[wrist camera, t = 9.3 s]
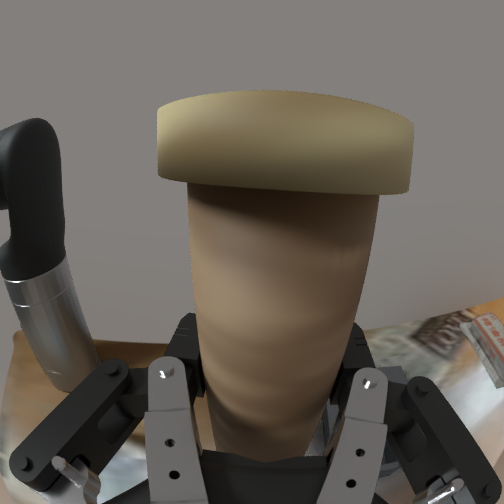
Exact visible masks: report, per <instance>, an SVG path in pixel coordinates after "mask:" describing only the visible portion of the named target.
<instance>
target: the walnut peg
mask: <svg viewBox="0 0 504 504" xmlns="http://www.w3.org/2000/svg"><path fill="white" fill-rule="evenodd" d="M413 139H414V125H413V123H412V122H411V121H410V120H408V119H407V118H405V117H403V116H401V115H399V114H397V113H395V112H392V111H390V110H387V109H384V108H381V107H378V106H375V105H371V104H368V103H364V102H360V101H356V100H352V99H347V98H342V97H337V96H331V95H324V94H317V93H307V92H297V91H278V90H250V91H232V92H221V93H214V94H206V95H200V96H194V97H190V98H186V99H181V100H178V101H175V102H172V103H169V104H166V105H164V106H162V107H161V108H159V109H158V113H157V155H158V175H159V176H160V177H162V178H165V179H169V180H174V181H180V182H187V190H188V217H189V237H190V252H191V266H192V279H193V290H194V301H195V311H196V320H197V329H198V338H199V346H200V353H201V361H202V368H203V375H204V382H205V388H206V395H207V401H208V407H209V413H210V418H211V424H212V429H213V434H214V440H215V445H216V450H217V451H218V452H226V453H233V454H237V455H240V456H243V457H246V458H249V459H253V460H256V461H260V462H272V461H277V460H283V459H288V458H292V457H303V456H304V454H305V452H306V450H307V448H308V446H309V444H310V441H311V439H312V437H313V435H314V432H315V430H316V428H317V426H318V423H319V421H320V418H321V416H322V414H323V411H324V409H325V406H326V404H327V401H328V399H329V396H330V393H331V391H332V388H333V385H334V382H335V380H336V377H337V374H338V371H339V368H340V365H341V362H342V359H343V356H344V353H345V350H346V347H347V344H348V340H349V337H350V334H351V330H352V327H353V323H354V320H355V316H356V312H357V308H358V304H359V301H360V296H361V293H362V288H363V284H364V280H365V275H366V271H367V266H368V261H369V256H370V251H371V246H372V241H373V235H374V229H375V223H376V216H377V210H378V202H379V195H393V194H402V193H406V192H407V191H409V184H410V175H411V165H412V154H413Z"/></svg>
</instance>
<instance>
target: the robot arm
mask: <svg viewBox="0 0 504 504" xmlns="http://www.w3.org/2000/svg"><path fill="white" fill-rule="evenodd" d="M6 209H8V210H9V219H10V227H11V236H10V239H9V240H8V241H7V242H6V243H4V244H3V245H2V246H1V247H0V270H1V274H2V276H3V279H4V283H5V285H6V288H7V291H8V294H9V297H10V299H11V301H12V304H13V307H14V309H15V312H16V314H17V316H18V319H19V321H20V326H21V328H22V330H23V333H24V335H25V337H26V339H27V341H28V343H29V345H30V347H31V349H32V351H33V353H34V354H35V356H36V358H37V360H38V362H39V364H40V365H41V367H42V369H43V370H44V372H45V374H46V375H48V377H49V379H50V380H51V382H52V383H53V385H54V386H55V387H56V388H58V389H59V390H62V391H65V392H71V393H70V394H69V395H68V396H67V397H66V398H65V399H64V400H63V401H62V402H61V403H60V404H59V405H58V406H57V407H56V408H55V409H54V410H53V411H52V412H51V413H50V414H49V415H48V416H47V417H46V418H45V419H44V420H43V421H42V422H41V423H40V424H39V425H38V426H37V427H36V428H35V429H34V430H33V431H32V432H31V433H30V434H29V435H28V436H27V438H26V439H25V440H24V441H23V442H22V443H21V444H20V445H19V446H18V447H17V448H16V449H15V450H14V451H13V452H12V454H11V456H10V459H9V466H10V470H11V472H12V474H13V475H14V476H15V477H16V478H17V479H18V480H20V481H21V482H23V483H24V484H26V485H27V486H28V487H29V488H30V489H32V490H33V491H35V492H37V493H38V494H40V495H41V496H42V497H43V498H44V499H45V500H46V501H47V502H48V503H49V504H97V495H98V494H99V493H100V489H101V482H100V479H99V477H98V476H99V474H100V473H101V472H102V470H103V469H104V468H105V467H106V465H107V464H108V463H109V462H110V460H111V459H112V458H113V456H114V455H115V454H116V453H117V451H118V450H119V449H120V447H121V446H122V445H123V444H124V442H125V441H126V440H127V438H128V437H129V436H130V435H131V433H132V432H133V431H134V429H135V428H136V427H137V425H138V424H139V423H140V422H141V420H142V419H143V418H144V422H145V444H146V459H147V470H148V479H146V480H145V481H143V482H141V483H140V484H138V485H136V486H134V487H133V488H131V489H129V490H127V491H125V492H124V493H122V494H120V495H118V496H116V497H114V498H112V499H110V500H108V501H106V502H104V503H102V504H388V503H387V502H386V501H385V500H383V499H382V498H381V497H380V496H379V495H377V494H376V493H375V492H374V491H375V488H376V484H377V480H378V476H379V471H380V467H381V462H382V457H383V452H384V447H385V441H386V438H387V440H388V442H389V444H390V446H391V448H392V450H393V452H394V453H395V455H396V457H397V459H398V461H399V463H400V465H401V467H402V469H403V471H404V473H405V475H406V477H407V479H408V481H409V483H410V485H411V487H412V489H413V491H414V493H415V495H416V496H415V497H414V499H413V502H412V504H495V503H496V502H497V501H498V499H499V498H500V495H501V491H502V485H501V482H500V480H499V478H498V476H497V475H496V473H495V471H494V470H493V468H492V466H491V465H490V463H489V462H488V460H487V458H486V457H485V455H484V454H483V452H482V450H481V449H480V447H479V446H478V444H477V443H476V441H475V440H474V438H473V437H472V435H471V434H470V432H469V431H468V429H467V428H466V427H465V425H464V424H463V422H462V421H461V419H460V418H459V417H458V415H457V414H456V412H455V411H454V410H453V408H452V407H451V405H450V404H449V403H448V401H447V400H446V399H445V397H444V396H443V394H442V393H441V392H440V390H439V389H438V388H437V386H436V385H435V384H434V383H433V382H432V381H431V380H430V379H428V378H426V377H421V376H418V377H414V378H412V379H410V380H409V382H408V384H401V383H395V382H391V381H388V380H387V377H386V376H385V374H384V373H383V372H381V371H380V370H378V369H376V367H375V364H374V361H373V358H372V356H371V353H370V350H369V347H368V346H367V341H366V339H365V336H364V333H363V331H362V329H361V328H360V327H359V326H358V325H357V324H356V323H353V327H352V330H351V334H350V337H349V340H348V344H347V347H346V350H345V353H344V356H343V359H342V362H341V365H340V368H339V371H338V374H337V377H336V380H335V382H334V385H333V388H332V391H331V393H330V396H329V400H330V405H338V408H339V411H338V413H337V415H336V418H335V422H334V425H333V428H332V431H331V434H330V437H329V440H328V443H327V446H326V448H325V451H324V453H323V455H322V456H305V457H292V458H288V459H283V460H277V461H272V462H260V461H256V460H253V459H249V458H246V457H243V456H240V455H237V454H233V453H226V452H218V451H211V450H205V449H203V451H202V448H201V443H200V439H199V434H198V428H197V423H196V417H195V412H194V407H193V405H194V401H195V398H196V396H197V397H204V393H205V389H206V388H205V382H204V375H203V368H202V361H201V353H200V346H199V338H198V329H197V320H196V314H195V313H188V314H187V315H186V316H184V317H183V318H182V319H181V321H180V323H179V325H178V328H177V329H176V331H175V334H174V335H173V337H172V339H171V341H170V343H169V345H168V347H167V350H166V352H165V354H164V356H163V357H161V358H158V359H156V360H154V361H153V362H152V363H151V364H150V366H149V367H147V368H135V369H129V368H128V366H127V364H126V363H125V362H124V361H122V360H119V359H108V360H106V361H103V362H101V359H100V357H99V355H98V352H97V350H96V347H95V345H94V342H93V340H92V337H91V334H90V332H89V329H88V326H87V324H86V321H85V318H84V315H83V312H82V309H81V306H80V303H79V300H78V296H77V293H76V290H75V286H74V283H73V279H72V276H71V272H70V268H69V264H68V260H67V256H66V251H65V246H64V233H65V217H64V208H63V196H62V175H61V158H60V149H59V143H58V139H57V136H56V133H55V131H54V129H53V127H52V126H51V125H50V124H49V123H48V122H47V121H46V120H43V119H40V118H32V119H28V120H25V121H22V122H20V123H17V124H15V125H12V126H10V127H8V128H5V129H3V130H1V131H0V210H6ZM417 424H418V425H417ZM419 427H420V428H419ZM420 429H421V430H420ZM422 432H423V433H422ZM423 434H424V435H423ZM425 437H426V438H425Z"/></svg>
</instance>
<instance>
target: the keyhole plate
mask: <svg viewBox="0 0 504 504" xmlns="http://www.w3.org/2000/svg"><path fill="white" fill-rule="evenodd" d="M376 369H378V370H380V371H381V372H383V373H384V374H385V376H386V377H387V380H388V381H391V382H395V383H401V384H408V382H407V380H406V377H405V375H404V372H403V370H402V368H401V366H395V367H383V368H376ZM338 411H339V408H338V405H330V400H329V399H328V401H327V404H326V406H325V409H324V411H323V414H322V420H323V430H324V442H325V448H326V446H327V443H328V440H329V437H330V434H331V431H332V428H333V425H334V422H335V418H336V415H337V413H338ZM417 425H418V424H417ZM419 428H420V427H419ZM420 430H421V429H420ZM422 433H423V432H422ZM423 435H424V434H423ZM425 438H426V437H425ZM384 452H385V457H386V462H387V464H383V465H381V467H380V471H379V476H378V478H379V477H384V476H389V475H390V474H391V473H393V472H394V471H395V470H396V469H397V468H400V467H401V465H400V463H399V461H398V459H397V457H396V455H395V453H394V452H393V450H392V448H391V446H390V444H389V442H388V440H387V438H386V441H385V447H384Z"/></svg>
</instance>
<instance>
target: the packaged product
mask: <svg viewBox="0 0 504 504" xmlns="http://www.w3.org/2000/svg"><path fill="white" fill-rule="evenodd" d="M460 328H461V330H462V331H463V333H464V334H465V335H466V336H467V338H468V340H469V342H470V343H471V345H472V347H473V348H474V350H475V352H476V353H477V355H478V357H479V359H480V361H481V362H482V364H483V365H484V367H485V368H486V370H487V372H488V374H489V375H490V377H491V379H492V381H493V383H494V385H495V387H496V389H497V388H500V387H504V325H503V324H502V323H501V321H500V320H499V319H498V318H497V317H496V315H495V314H493V313H491V312H486V313H485V314H482V315H480V316H479V315H478V316H476V317H475V318H474V319H473V320H472V322H470V323H464V324H461V323H460Z"/></svg>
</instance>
